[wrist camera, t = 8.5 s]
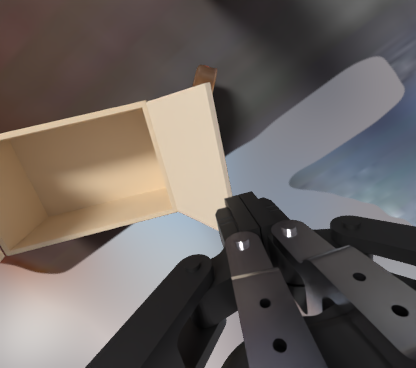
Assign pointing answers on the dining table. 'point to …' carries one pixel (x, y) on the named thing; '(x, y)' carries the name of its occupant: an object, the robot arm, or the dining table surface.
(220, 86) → the dining table surface
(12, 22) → the dining table surface
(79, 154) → the carton
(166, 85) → the dining table surface
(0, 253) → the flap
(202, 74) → the tin
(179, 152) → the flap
